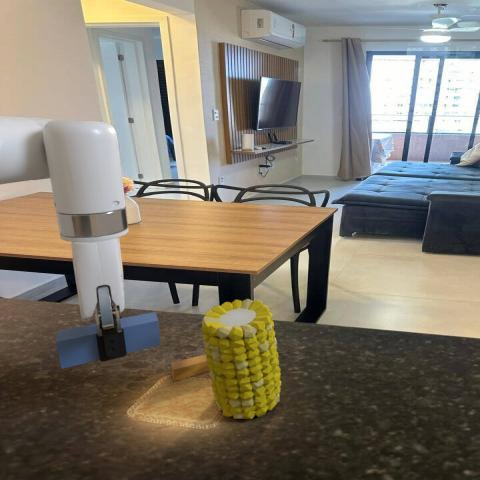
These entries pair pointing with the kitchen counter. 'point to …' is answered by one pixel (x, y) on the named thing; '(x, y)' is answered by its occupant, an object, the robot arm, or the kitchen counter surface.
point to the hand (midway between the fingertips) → (112, 349)
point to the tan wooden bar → (189, 367)
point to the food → (242, 358)
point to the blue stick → (85, 343)
